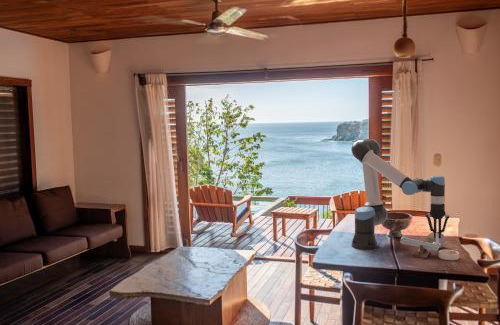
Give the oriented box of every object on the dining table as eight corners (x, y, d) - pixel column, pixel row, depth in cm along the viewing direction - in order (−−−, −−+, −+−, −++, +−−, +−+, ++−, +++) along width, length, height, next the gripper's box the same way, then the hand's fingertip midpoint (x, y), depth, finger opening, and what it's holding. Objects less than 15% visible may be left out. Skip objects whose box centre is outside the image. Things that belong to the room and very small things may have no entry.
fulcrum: (415, 256, 258) (415, 245, 257) (419, 250, 268) (419, 240, 267) (426, 257, 255) (427, 246, 254) (430, 252, 265) (430, 241, 264)
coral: (439, 239, 267) (426, 229, 275) (434, 252, 272) (422, 242, 280) (450, 235, 271) (438, 226, 279) (445, 249, 276) (433, 239, 284)
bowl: (437, 258, 253) (437, 253, 253) (439, 253, 262) (440, 248, 261) (457, 261, 248) (457, 255, 247) (459, 256, 257) (459, 250, 256)
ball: (453, 250, 252) (457, 256, 251) (454, 249, 255) (458, 254, 254) (447, 253, 253) (451, 259, 252) (448, 252, 256) (452, 257, 255)
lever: (399, 243, 263) (400, 238, 262) (405, 237, 276) (405, 232, 276) (436, 251, 253) (437, 246, 253) (440, 245, 266) (441, 240, 266)
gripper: (424, 203, 262) (424, 244, 264) (449, 204, 256) (448, 246, 258) (426, 201, 269) (426, 241, 271) (450, 202, 262) (450, 243, 264)
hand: (437, 243), depth 264 cm, fingers closed
